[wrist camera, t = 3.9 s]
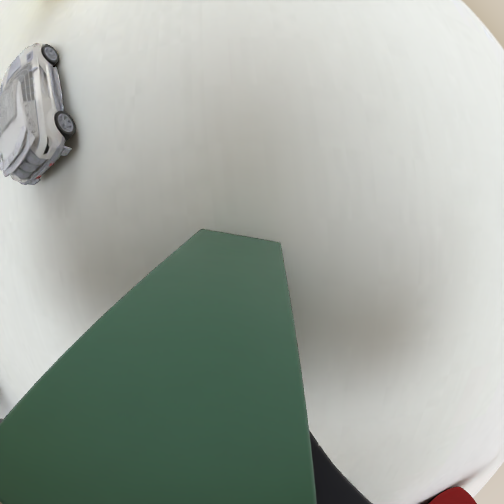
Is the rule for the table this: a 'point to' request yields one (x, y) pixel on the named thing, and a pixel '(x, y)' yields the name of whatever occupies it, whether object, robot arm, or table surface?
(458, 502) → the chair
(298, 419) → the small book
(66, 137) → the toy car
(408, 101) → the table surface
